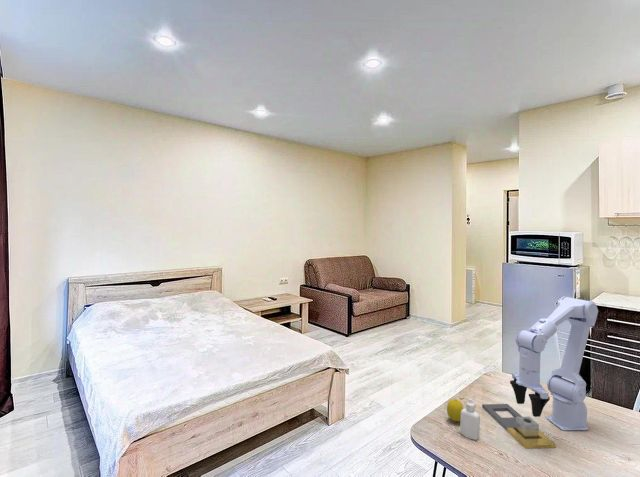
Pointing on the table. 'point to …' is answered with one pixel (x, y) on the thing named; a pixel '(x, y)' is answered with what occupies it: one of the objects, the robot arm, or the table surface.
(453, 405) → the lemon
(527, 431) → the grey cube with hole
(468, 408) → the eye dropper bottle
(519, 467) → the table surface
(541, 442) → the rail
